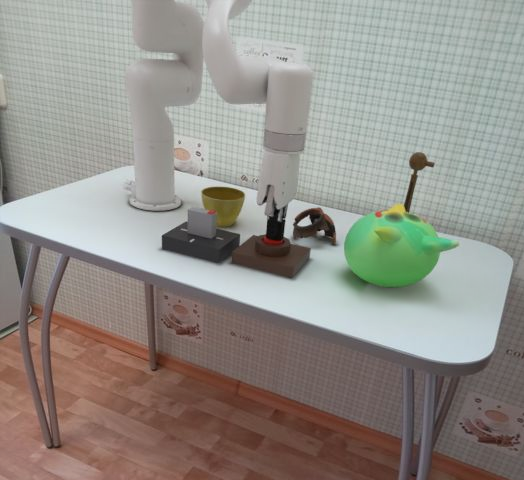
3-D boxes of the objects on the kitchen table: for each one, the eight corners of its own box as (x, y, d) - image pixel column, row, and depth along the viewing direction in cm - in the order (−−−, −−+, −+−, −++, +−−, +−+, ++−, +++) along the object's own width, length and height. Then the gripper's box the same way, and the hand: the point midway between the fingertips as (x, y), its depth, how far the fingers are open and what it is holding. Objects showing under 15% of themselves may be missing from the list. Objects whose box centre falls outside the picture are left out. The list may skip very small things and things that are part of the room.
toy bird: (411, 265, 109) (429, 197, 101) (445, 303, 95) (469, 228, 87) (329, 263, 106) (342, 193, 98) (353, 302, 92) (369, 224, 84)
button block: (231, 263, 102) (232, 242, 100) (252, 245, 111) (254, 225, 108) (292, 278, 99) (294, 257, 96) (309, 259, 107) (312, 238, 105)
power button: (259, 248, 102) (260, 239, 101) (267, 242, 105) (267, 232, 104) (278, 252, 101) (279, 243, 100) (285, 246, 104) (286, 237, 103)
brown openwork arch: (339, 252, 113) (328, 222, 107) (299, 264, 116) (286, 235, 111) (339, 221, 121) (328, 192, 115) (301, 232, 124) (289, 204, 119)
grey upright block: (187, 233, 105) (187, 208, 102) (192, 230, 107) (192, 205, 104) (211, 238, 104) (212, 213, 101) (216, 235, 106) (217, 210, 103)
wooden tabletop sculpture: (415, 240, 122) (438, 153, 111) (410, 246, 119) (433, 157, 108) (391, 234, 124) (412, 148, 113) (385, 239, 121) (406, 151, 110)
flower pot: (228, 234, 115) (230, 203, 111) (191, 223, 119) (192, 192, 115) (251, 222, 122) (253, 193, 119) (215, 212, 126) (217, 183, 122)
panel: (161, 249, 105) (161, 234, 103) (185, 234, 113) (185, 220, 111) (218, 263, 101) (219, 248, 100) (239, 247, 109) (240, 233, 108)
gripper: (279, 132, 99) (270, 224, 109) (248, 144, 87) (242, 246, 97) (316, 138, 97) (303, 231, 107) (289, 152, 85) (278, 255, 95)
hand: (274, 238), depth 102 cm, fingers closed
